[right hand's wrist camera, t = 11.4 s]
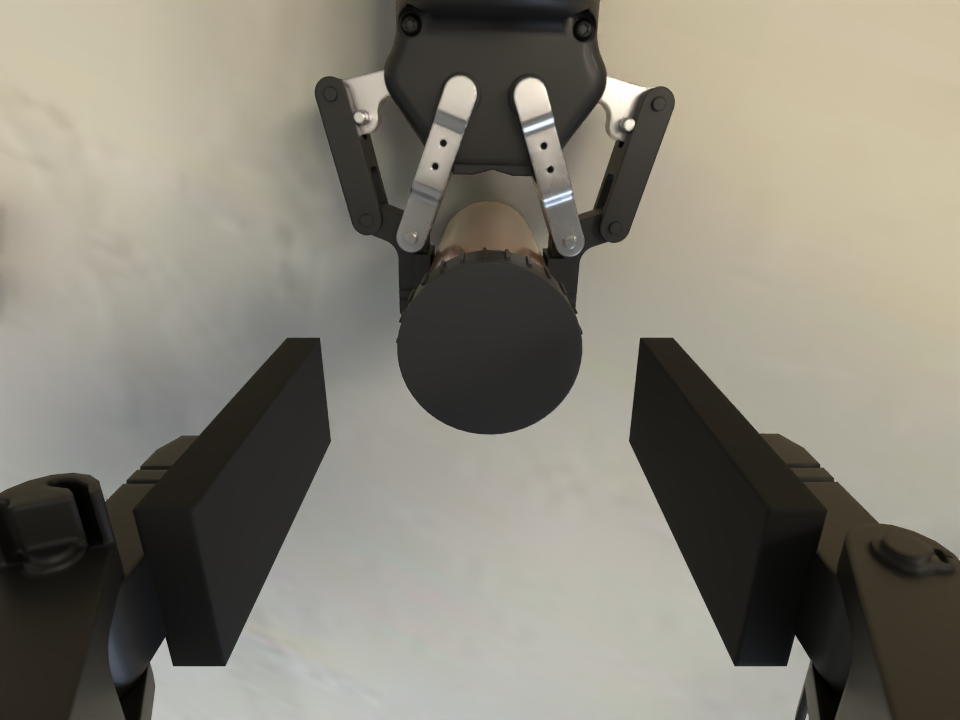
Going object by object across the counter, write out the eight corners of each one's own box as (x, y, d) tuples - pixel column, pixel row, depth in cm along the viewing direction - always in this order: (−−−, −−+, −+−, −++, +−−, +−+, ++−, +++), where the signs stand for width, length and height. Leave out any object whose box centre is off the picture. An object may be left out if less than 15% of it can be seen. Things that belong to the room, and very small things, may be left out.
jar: (547, 270, 32) (596, 387, 18) (465, 306, 33) (448, 444, 18) (512, 184, 30) (535, 236, 16) (426, 223, 31) (376, 306, 17)
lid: (601, 375, 19) (611, 397, 17) (446, 435, 20) (443, 461, 18) (538, 217, 17) (543, 226, 16) (371, 291, 18) (360, 306, 16)
